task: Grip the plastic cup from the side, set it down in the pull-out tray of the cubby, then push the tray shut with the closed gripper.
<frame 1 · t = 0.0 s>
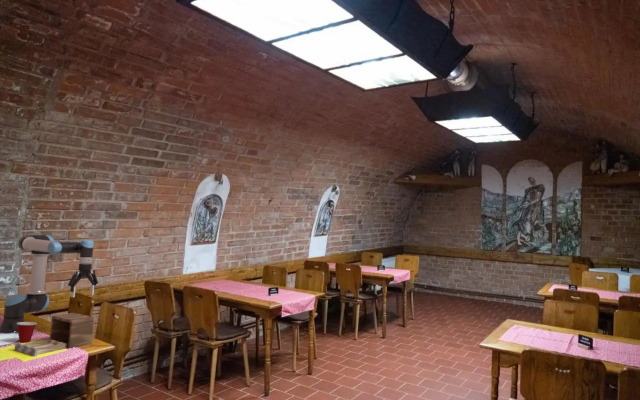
hand: (82, 295, 298), 28 cm above the table, tool pointing down, fingers open, 13 cm apart
plastic cup: (25, 342, 282), on the table
tray: (41, 346, 269), point 2 cm above the table, slide at 14.0 cm
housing: (72, 343, 286), on the table
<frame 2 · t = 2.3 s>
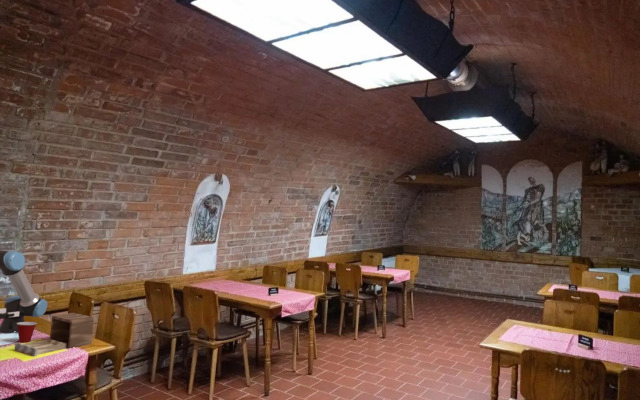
hand: (12, 312, 275), 20 cm above the table, tool horizontal, fingers open, 13 cm apart
nothing on the table moved.
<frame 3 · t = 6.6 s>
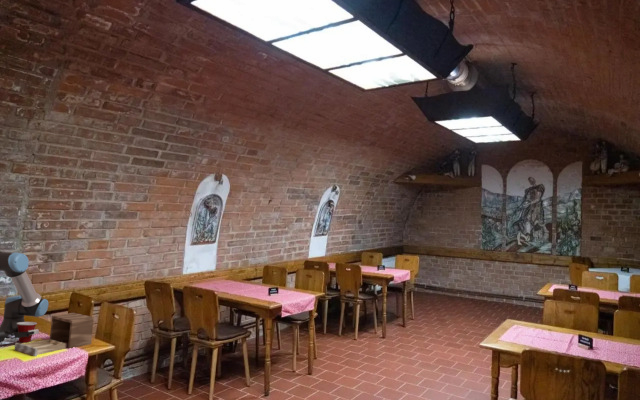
hand: (33, 330, 287), 7 cm above the table, tool horizontal, fingers closed on plastic cup, 9 cm apart
plastic cup: (25, 342, 282), on the table, touching gripper
everything else where it was.
when the fingers open (9 cm above the table, at t = 11.9 s): plastic cup drops 2 cm, resting on tray.
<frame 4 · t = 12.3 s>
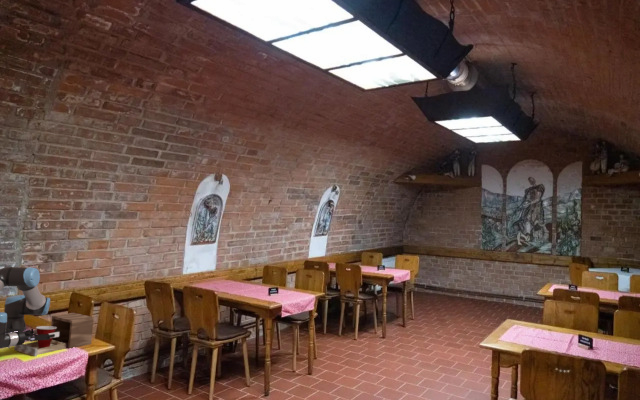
hand: (51, 332, 274), 9 cm above the table, tool horizontal, fingers open, 13 cm apart
plastic cup: (44, 347, 270), point 1 cm above the table, touching tray
tray: (41, 346, 269), point 2 cm above the table, slide at 14.0 cm, touching plastic cup
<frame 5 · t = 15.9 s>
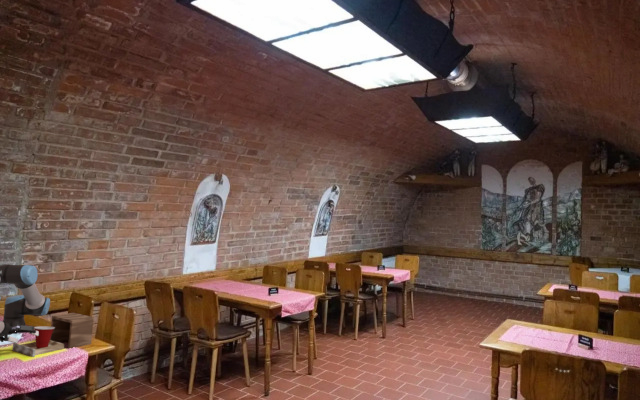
hand: (27, 337, 265), 8 cm above the table, tool tilted 65°, fingers open, 12 cm apart
plastic cup: (42, 347, 269), point 1 cm above the table, touching gripper, tray
tray: (39, 346, 268), point 2 cm above the table, slide at 15.2 cm, touching gripper, plastic cup
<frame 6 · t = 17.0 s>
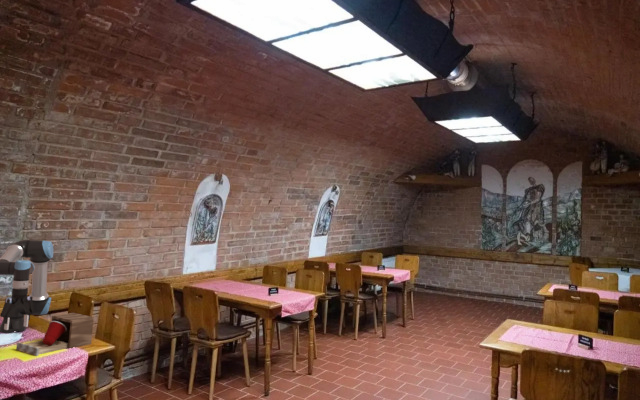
hand: (16, 327, 255), 16 cm above the table, tool pointing down, fingers open, 10 cm apart
plastic cup: (47, 343, 272), point 3 cm above the table, touching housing, tray
tray: (43, 345, 269), point 2 cm above the table, slide at 13.0 cm, touching plastic cup
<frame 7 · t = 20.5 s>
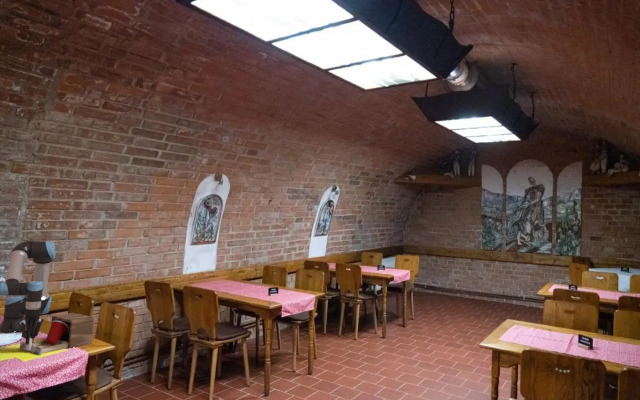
hand: (28, 349, 262), 2 cm above the table, tool pointing down, fingers closed
plastic cup: (50, 343, 273), point 3 cm above the table, touching tray
tray: (46, 345, 271), point 2 cm above the table, slide at 11.1 cm, touching gripper, plastic cup
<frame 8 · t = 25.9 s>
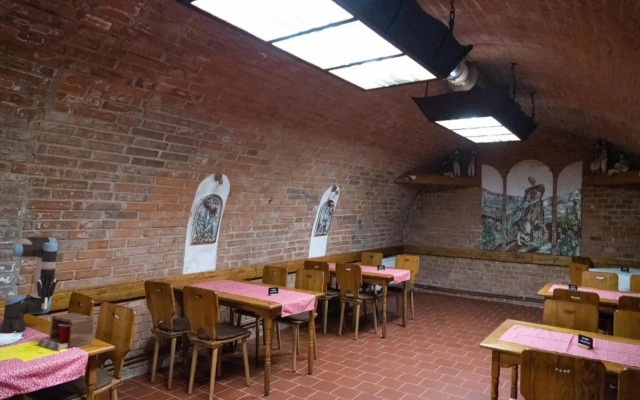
hand: (44, 308, 269), 24 cm above the table, tool pointing down, fingers closed
plastic cup: (66, 343, 282), point 1 cm above the table, touching tray
tray: (63, 341, 281), point 2 cm above the table, slide at 0.3 cm, touching plastic cup
at the end: tray slide at 0.3 cm; plastic cup inside the target area on the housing (3.0 cm from its centre), point 1.1 cm above the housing's base; plastic cup tilted 0° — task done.
